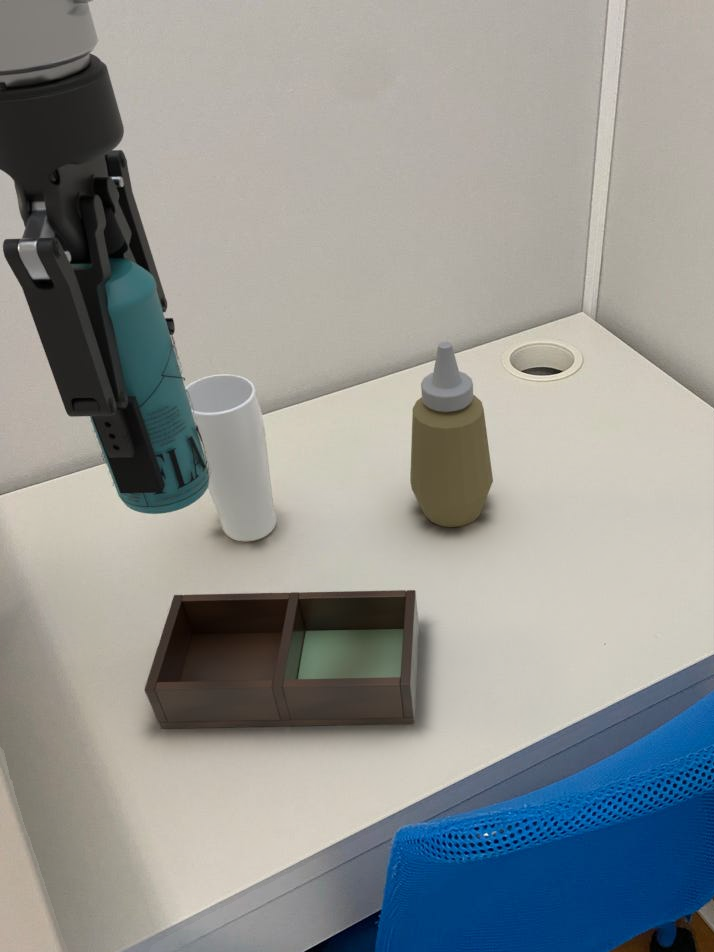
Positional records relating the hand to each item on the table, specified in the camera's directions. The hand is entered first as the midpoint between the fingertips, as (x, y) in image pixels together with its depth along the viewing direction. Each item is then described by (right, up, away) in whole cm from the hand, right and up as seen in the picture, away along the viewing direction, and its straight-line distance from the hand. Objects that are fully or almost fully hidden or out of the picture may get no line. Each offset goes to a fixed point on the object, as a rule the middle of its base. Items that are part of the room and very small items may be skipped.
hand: (155, 457), depth 62 cm
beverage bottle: (0, -3, +3) cm, 4 cm away
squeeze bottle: (+19, +1, +32) cm, 37 cm away
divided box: (+6, -15, +16) cm, 23 cm away
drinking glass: (-1, -1, +30) cm, 30 cm away
